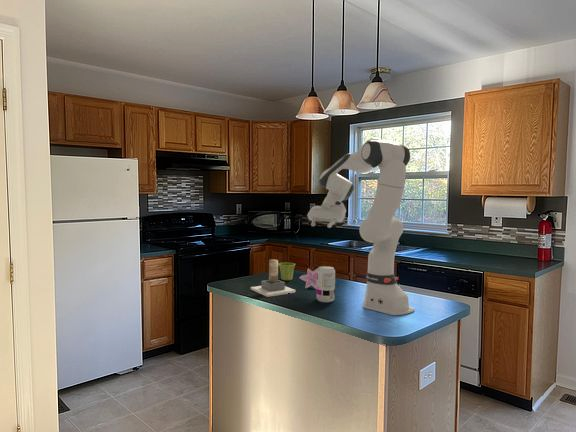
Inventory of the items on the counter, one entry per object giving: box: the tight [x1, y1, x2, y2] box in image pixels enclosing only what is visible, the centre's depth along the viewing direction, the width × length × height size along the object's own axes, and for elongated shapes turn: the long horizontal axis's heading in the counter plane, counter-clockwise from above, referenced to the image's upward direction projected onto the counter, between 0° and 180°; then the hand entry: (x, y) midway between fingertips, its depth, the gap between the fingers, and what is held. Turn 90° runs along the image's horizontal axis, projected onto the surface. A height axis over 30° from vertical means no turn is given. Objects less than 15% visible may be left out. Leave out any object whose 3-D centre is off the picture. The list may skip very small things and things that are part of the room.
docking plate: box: [250, 279, 296, 298], centre depth 204 cm, size 16×16×5 cm
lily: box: [299, 268, 318, 290], centre depth 214 cm, size 12×12×10 cm
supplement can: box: [315, 265, 336, 303], centre depth 189 cm, size 8×8×15 cm
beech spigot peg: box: [268, 259, 279, 284], centre depth 204 cm, size 4×4×14 cm
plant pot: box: [278, 262, 296, 281], centre depth 230 cm, size 9×9×9 cm
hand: (320, 226), depth 213 cm, fingers open, 8 cm apart
